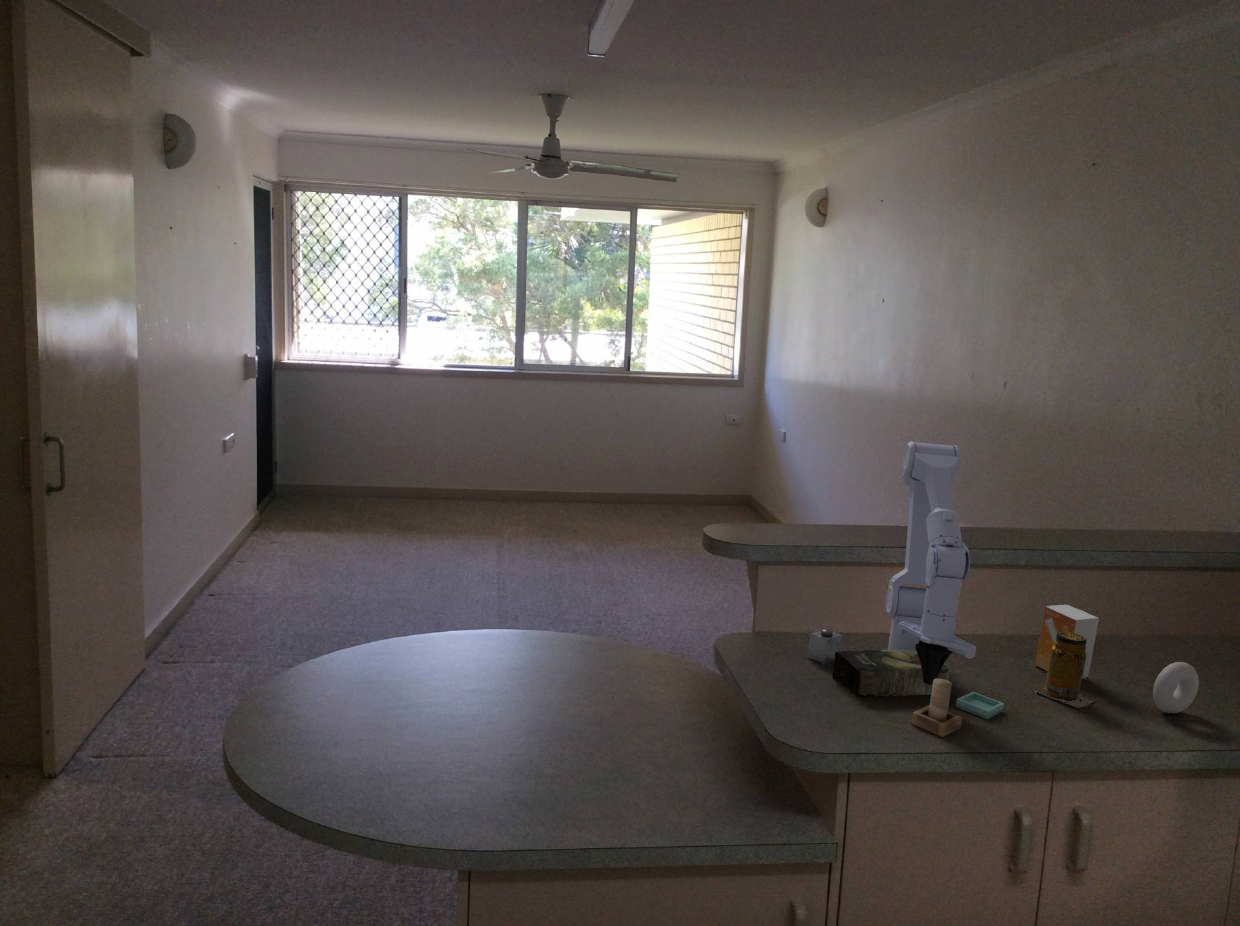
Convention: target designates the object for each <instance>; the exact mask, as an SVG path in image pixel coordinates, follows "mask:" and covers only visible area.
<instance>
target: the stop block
mask: <svg viewBox="0 0 1240 926" xmlns="http://www.w3.org/2000/svg"><path fill="white" fill-rule="evenodd" d="M842 638H843V635H842V634H840V633H838V632H835V631H833V629H830V628H827V627H822V628H820V630H818V631H814V632H811V633H809V641H808V650H807V655H806V656H807V658H809V659H811V660H813V661H816V662H817V663H820V664H823V665H826V664H829V663H832V662H834V659H835V652H838V651H841V646H842Z"/></svg>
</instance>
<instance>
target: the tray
mask: <svg viewBox="0 0 1240 926" xmlns="http://www.w3.org/2000/svg"><path fill="white" fill-rule="evenodd" d="M1004 706H1005V703H1004V702H1002V701H999V700H996V699H994V698H991V697H988V696H986V695H984V694H981V693H979V692H975V691H971V692H969V693H967V694H964V695H963V696H961V697H958V698H957V699H956V703H955V707H956V708H957V709H960V710H962V711H965V712H968V713H970V714H973V715H976V716H977V717H980V718H983V719H985V720H989V719H991V718H992V717H995V716H997V715H998V714H1000V713H1003V712H1004V708H1005V707H1004Z"/></svg>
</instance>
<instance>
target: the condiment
mask: <svg viewBox="0 0 1240 926" xmlns="http://www.w3.org/2000/svg"><path fill="white" fill-rule="evenodd" d="M1086 643H1087V640H1086V639H1085V638H1084V637H1083V636H1081V635H1078V634H1075V633H1071V632H1059V633H1057V635H1056V641H1055V645H1054V646H1053V647H1052V650H1051V655H1050V662H1049V665H1048V666H1049V667H1048V672H1046V677H1045V678H1046V679H1045V683H1044V684H1045V685H1044V689H1045V693H1047V695H1050V696H1051V697H1054V698H1057V699H1062V700H1063V699H1064V700H1066V701H1072V700H1076V699H1077V698H1078V696H1079V695H1081V688H1082V683H1083V682H1082V681H1083V680H1082V677H1083V672H1084V667H1085V661H1086V653H1085V650H1086ZM1037 691H1038V690H1037ZM1037 691H1036V690H1035V692H1037Z"/></svg>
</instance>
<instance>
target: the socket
mask: <svg viewBox="0 0 1240 926" xmlns="http://www.w3.org/2000/svg"><path fill="white" fill-rule="evenodd" d="M929 706H930V704H928V705H926V706H924V707H921V708H919V709H917V710H915V711H913V712H912V715H911V723H910V724H912V725H914V726H916V727H918V728H921V729H923V730H926V731H928V732H930V733H933V734H935V735H937V736H939V737H941V738H943V737H946V736H948V735H950V734H951V733H953V732H955V731H958V730H959V729H961V728H962V722H963V717H962V716H960V715H958V714H955V713H953V712H950V711H947V718H946V721H945V722H943V723H942V722H940V721H937V720H935V719H933V718H930V717H928V712H929Z"/></svg>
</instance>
